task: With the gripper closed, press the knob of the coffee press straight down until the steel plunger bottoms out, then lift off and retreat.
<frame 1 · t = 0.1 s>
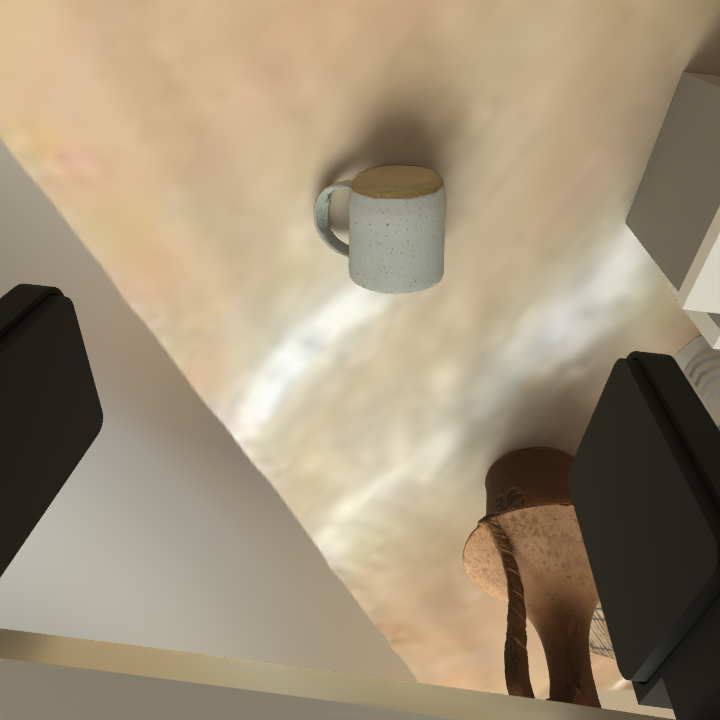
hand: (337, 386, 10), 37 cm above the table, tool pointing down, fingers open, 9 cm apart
trivet: (653, 600, 75), on the table
pitcher: (532, 477, 63), on the table
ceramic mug: (382, 213, 46), on the table
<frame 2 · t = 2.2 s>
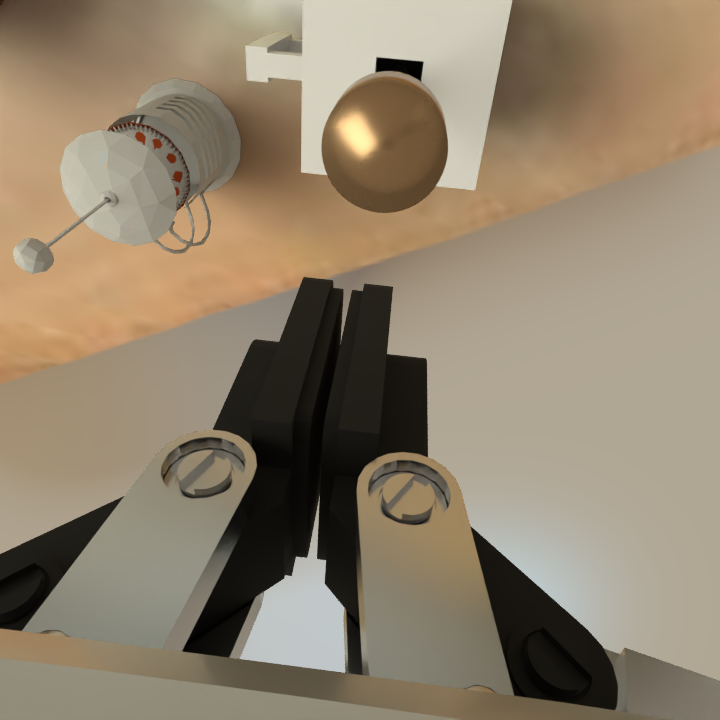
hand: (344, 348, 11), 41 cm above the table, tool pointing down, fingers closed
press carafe: (403, 54, 44), on the table
french press: (193, 148, 50), on the table
plunger: (393, 103, 29), point 18 cm above the table, slide at 7.0 cm
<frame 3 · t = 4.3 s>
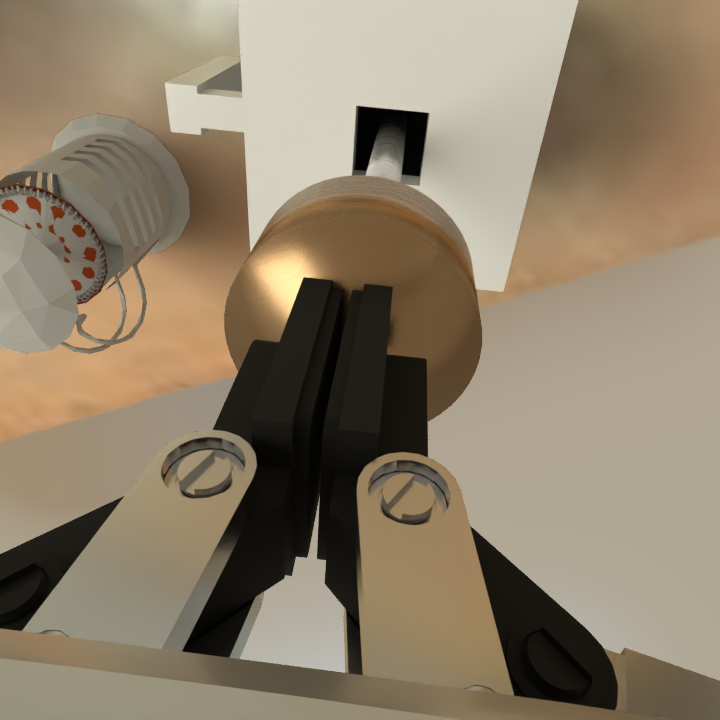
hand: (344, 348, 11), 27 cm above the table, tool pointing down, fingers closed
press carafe: (401, 84, 32), on the table
french press: (129, 200, 39), on the table
plunger: (381, 188, 18), point 18 cm above the table, slide at 6.5 cm, touching gripper
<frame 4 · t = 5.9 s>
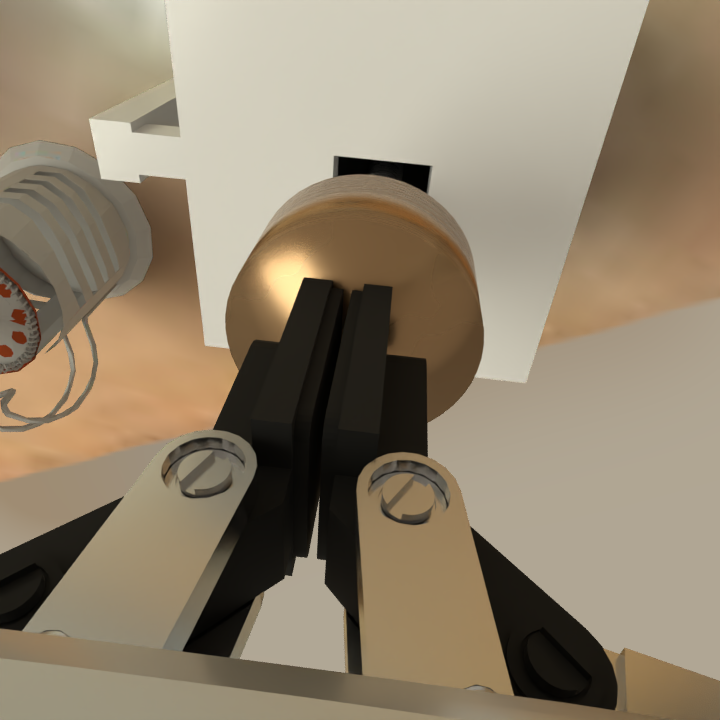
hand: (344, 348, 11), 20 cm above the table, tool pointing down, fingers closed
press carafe: (397, 108, 27), on the table
french press: (82, 238, 33), on the table
plunger: (382, 187, 18), point 11 cm above the table, slide at -0.1 cm, touching gripper
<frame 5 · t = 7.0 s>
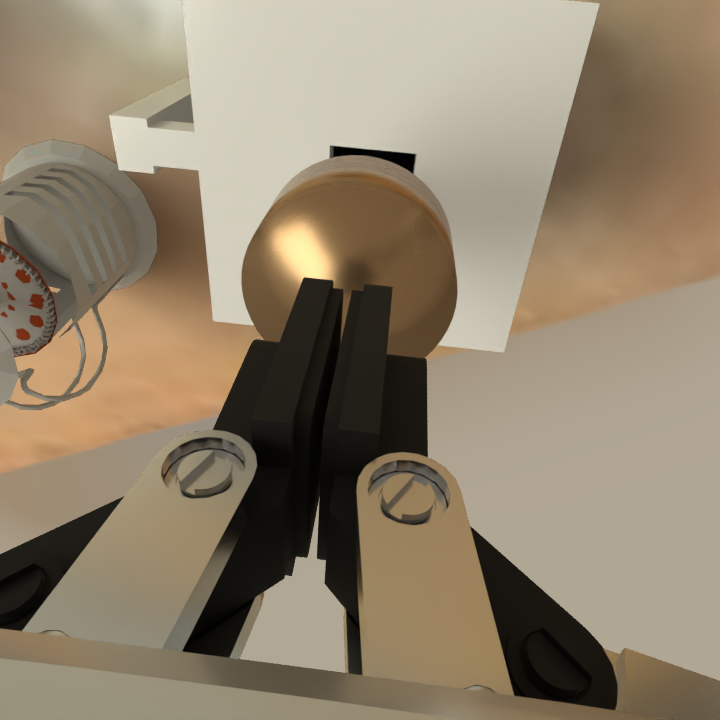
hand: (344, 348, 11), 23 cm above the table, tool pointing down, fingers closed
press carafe: (387, 109, 29), on the table
french press: (91, 232, 35), on the table
plunger: (373, 175, 20), point 11 cm above the table, slide at -0.1 cm
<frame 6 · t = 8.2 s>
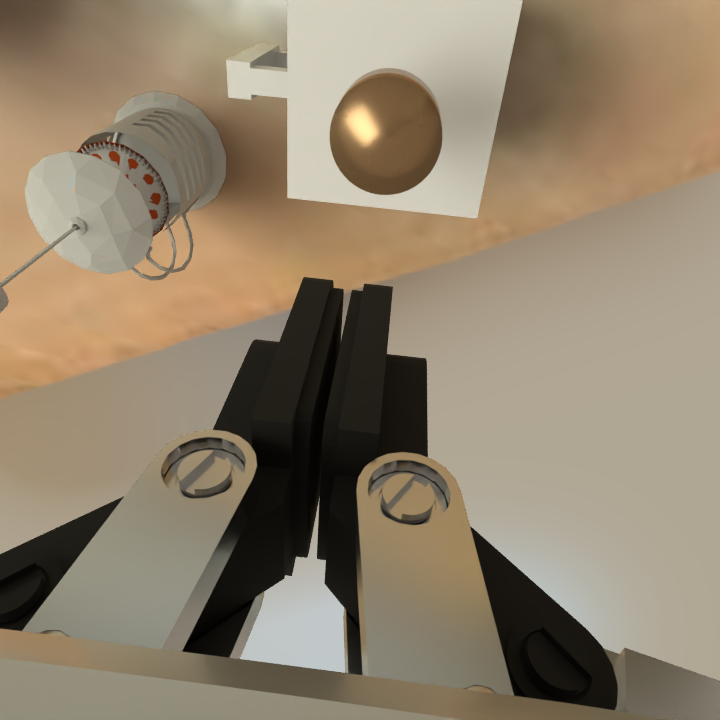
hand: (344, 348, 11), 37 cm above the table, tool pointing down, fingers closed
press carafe: (399, 67, 41), on the table
french press: (176, 164, 47), on the table
plunger: (393, 98, 32), point 11 cm above the table, slide at -0.1 cm
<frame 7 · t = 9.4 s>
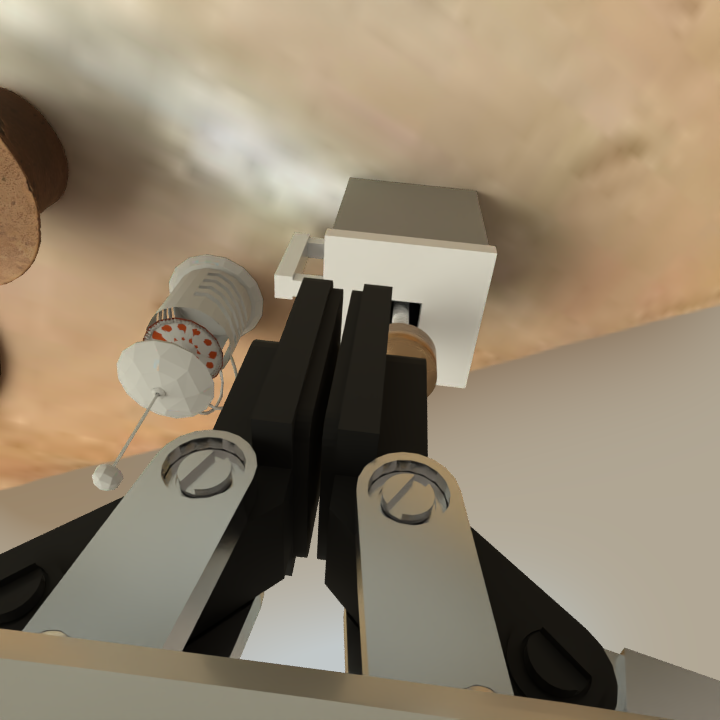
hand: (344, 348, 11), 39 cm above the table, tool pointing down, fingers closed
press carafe: (405, 243, 51), on the table
french press: (221, 304, 57), on the table
pitcher: (11, 147, 49), on the table
plunger: (401, 305, 42), point 11 cm above the table, slide at -0.1 cm
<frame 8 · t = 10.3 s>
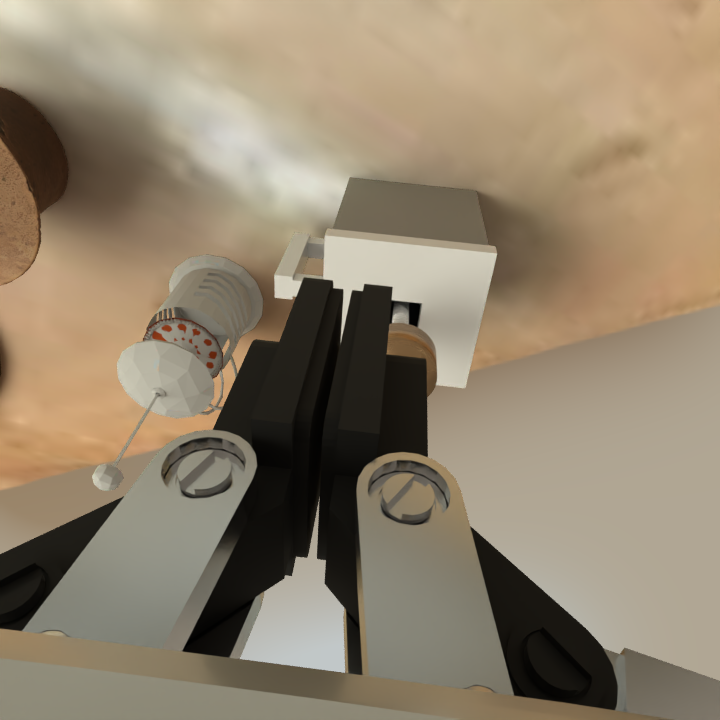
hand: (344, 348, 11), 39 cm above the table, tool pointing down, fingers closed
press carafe: (405, 243, 51), on the table
french press: (221, 304, 57), on the table
pitcher: (11, 147, 49), on the table
plunger: (401, 305, 42), point 11 cm above the table, slide at -0.1 cm
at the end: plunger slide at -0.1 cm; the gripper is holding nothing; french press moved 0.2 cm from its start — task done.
